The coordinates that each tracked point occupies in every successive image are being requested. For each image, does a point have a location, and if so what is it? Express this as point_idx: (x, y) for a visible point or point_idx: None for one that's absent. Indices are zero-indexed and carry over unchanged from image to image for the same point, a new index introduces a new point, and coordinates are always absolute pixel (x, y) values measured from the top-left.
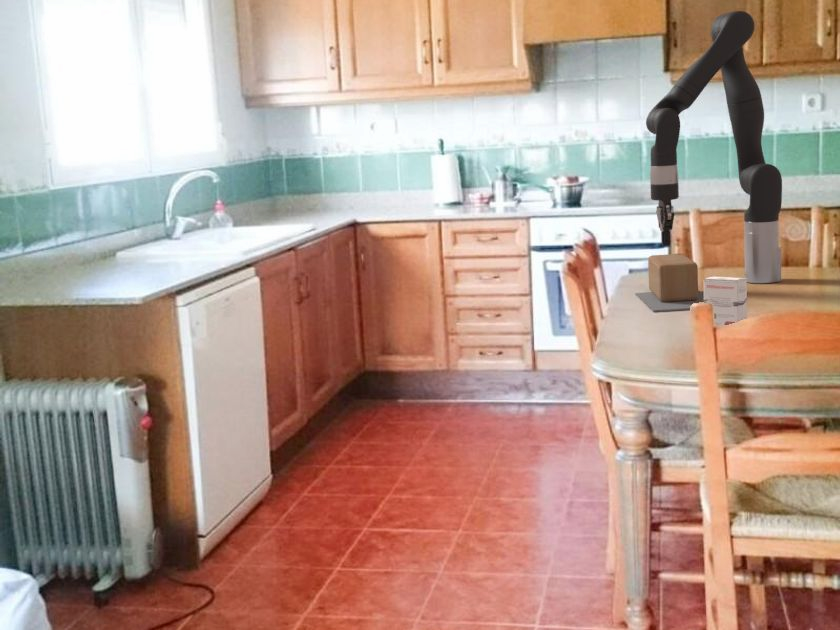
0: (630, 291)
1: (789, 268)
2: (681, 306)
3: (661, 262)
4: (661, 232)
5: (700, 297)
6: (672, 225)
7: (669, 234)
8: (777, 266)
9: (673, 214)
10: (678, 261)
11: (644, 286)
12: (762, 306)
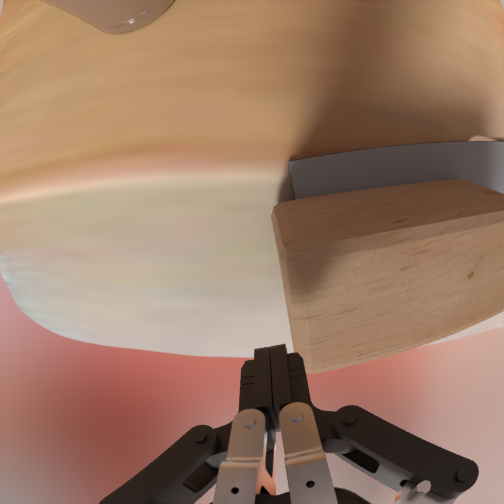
0: (258, 339)
1: (3, 14)
2: None
3: (483, 314)
4: (275, 427)
5: (426, 165)
6: (388, 423)
7: (290, 389)
8: None
9: (475, 470)
10: (496, 265)
11: (180, 311)
12: (493, 62)
